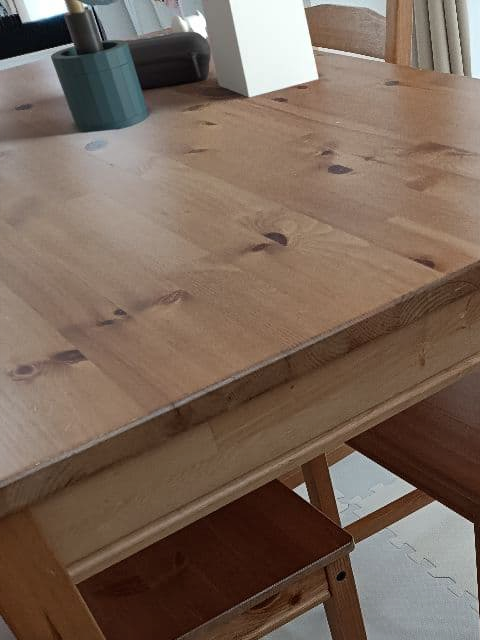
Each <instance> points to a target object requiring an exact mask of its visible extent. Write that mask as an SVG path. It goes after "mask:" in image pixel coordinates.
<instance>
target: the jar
mask: <svg viewBox="0 0 480 640" xmlns="http://www.w3.org/2000/svg"><path fill="white" fill-rule="evenodd" d="M101 42H102V45H103V48H104V51H100V52H96V53H91V54H85V55H77V52H76V49H75V46H74V45H73V46H69V47H65V48H63V49H60V50H58V51H56V52H54V53H52V54H51V56H50V59H51V61H52V64H53V68H54V70H55V73H56V75H57V78H58V82H59V84H60V87H61V89H62V92H63V95H64V98H65V100H66V103H67V106H68V108H69V112H70V115H71V117H72V120H73V123H74V124H75V126H76V129H77V131H79V132H82V133H94V132H105V131H115V130H120V129H123V128H128V127H130V126H134V125H136V124H139V123H141V122H143V121H144V120H146V119H147V118H148V117H149V112H148V108H147V104H146V101H145V97H144V94H143V89H141V87H140V83H139V80H138V77H137V73H136V70H135V67H134V63H133V60H132V57H131V53H130V50H129V47H128V43H127V42H126V41H125V39H124V40H123V39H109V40H101Z"/></svg>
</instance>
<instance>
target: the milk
mask: <svg viewBox="0 0 480 640" xmlns="http://www.w3.org/2000/svg"><path fill="white" fill-rule="evenodd" d="M201 3H202V9H203V14H204V19H205V21H206V28H207V35H208V39H209V45H210V50H211V55H212V59H213V63H214V68H215V74H216V78H217V84H218V86H219V87H222V88H224V89H227V90H229V91H232V92H234V93H237V94H239V95H242V96H245V97H247V98H252V97H256V96H260V95H263V94H268V93H271V92H275V91H279V90H283V89H287V88H291V87H293V86H298V85H303V84H305V83H309V82H313V81H317V80H319V74H318V67H317V64H316V60H315V59H316V58H315V54H314V50H313V44H312V40H311V35H310V30H309V25H308V20H307V16H306V11H305V6H304V1H303V0H201Z"/></svg>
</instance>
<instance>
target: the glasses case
mask: <svg viewBox="0 0 480 640" xmlns="http://www.w3.org/2000/svg"><path fill="white" fill-rule="evenodd" d="M124 41H126V42H127V43H128V47H129V50H130V53H131V57H132V60H133V63H134V67H135V70H136V73H137V77H138V80H139V83H140V87H141V90H145V89H146V90H147V89H154V88H160V87H169V86H174V85H183V84H189V83H190V84H191V83H196V82H202V81H204V80H206V79H208V77H209V74H210V62H211V55H212V49H211V44H210V42H209V41H208V40H207V38H206V39H205V38H204V37H203V36H202V35H201V34H199V33H197V32H178V33H173V32H166V33H160V34H155V35H148V36H142V37H136V38H131V39H126V40H125V39H124Z"/></svg>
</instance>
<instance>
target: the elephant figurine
mask: <svg viewBox="0 0 480 640" xmlns="http://www.w3.org/2000/svg"><path fill="white" fill-rule="evenodd" d="M170 28H171V31H172V33H178V32H197V33H199V34H201V35H202V36H203V37H204V38H205V39H206V40H207V38H209V35H208V32H207V31H206V28H207V24H206V19H205V16H203V14H202V13H201V12H200V11H199V10H197V9H196V10H194V11H193V14H192V15H187V16H183V17H180V16H179V15H174V16H173V17H172V19H171V23H170Z"/></svg>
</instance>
